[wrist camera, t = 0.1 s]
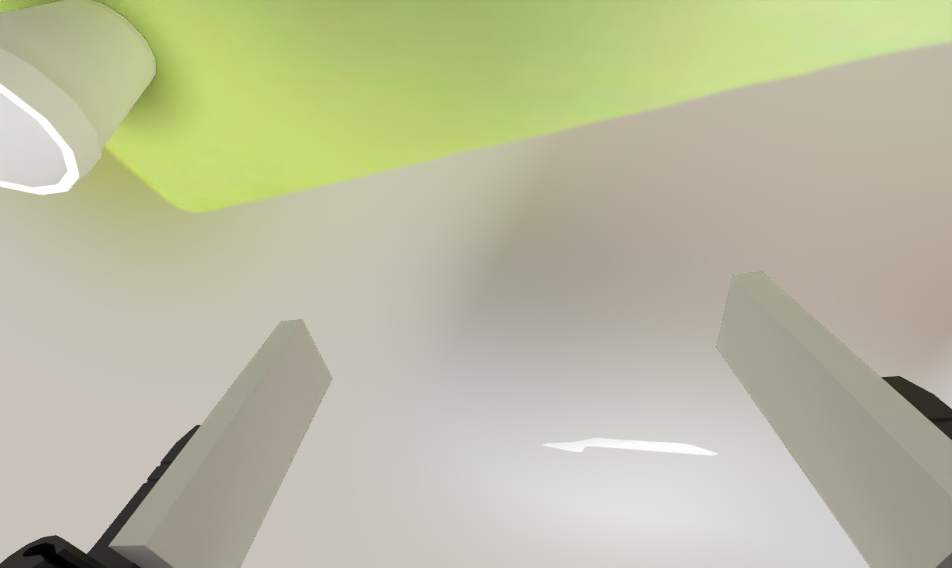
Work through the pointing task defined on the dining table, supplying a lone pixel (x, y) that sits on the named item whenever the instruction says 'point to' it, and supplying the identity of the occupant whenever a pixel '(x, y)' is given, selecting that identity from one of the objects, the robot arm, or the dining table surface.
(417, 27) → the dining table surface
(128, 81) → the foam cup
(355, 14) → the dining table surface
